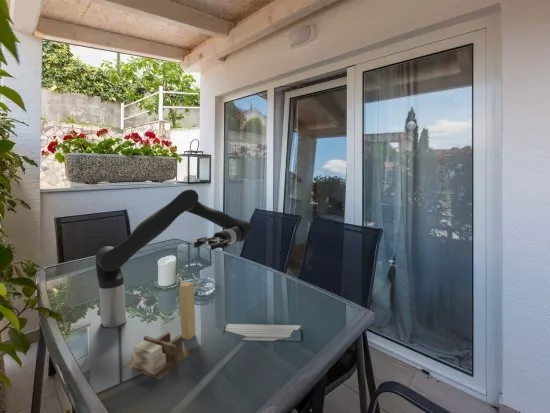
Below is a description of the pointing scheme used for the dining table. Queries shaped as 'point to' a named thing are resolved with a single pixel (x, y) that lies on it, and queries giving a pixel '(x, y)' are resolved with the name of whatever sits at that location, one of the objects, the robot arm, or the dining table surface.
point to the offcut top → (148, 350)
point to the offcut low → (149, 363)
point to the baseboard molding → (262, 331)
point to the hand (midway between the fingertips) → (203, 246)
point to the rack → (170, 349)
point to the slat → (187, 310)
